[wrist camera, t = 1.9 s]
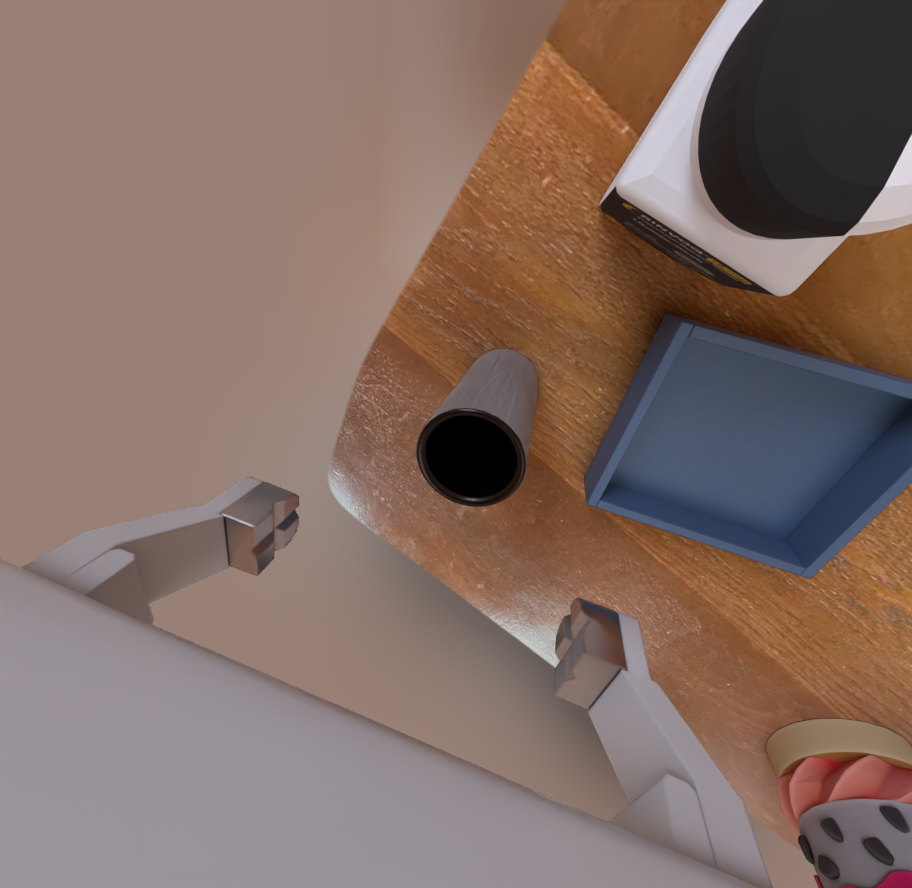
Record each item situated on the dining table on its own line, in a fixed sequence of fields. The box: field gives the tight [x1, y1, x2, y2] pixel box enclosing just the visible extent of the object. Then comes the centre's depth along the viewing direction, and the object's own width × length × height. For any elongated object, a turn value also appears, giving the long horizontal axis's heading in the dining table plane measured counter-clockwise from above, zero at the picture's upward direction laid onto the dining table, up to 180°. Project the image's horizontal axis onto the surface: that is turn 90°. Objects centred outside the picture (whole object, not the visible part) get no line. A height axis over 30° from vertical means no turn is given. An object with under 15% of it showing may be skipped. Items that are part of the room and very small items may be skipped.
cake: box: [766, 719, 912, 888], centre depth 24 cm, size 10×11×15 cm
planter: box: [416, 349, 539, 507], centre depth 19 cm, size 4×4×10 cm
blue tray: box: [584, 313, 912, 579], centre depth 21 cm, size 13×11×3 cm
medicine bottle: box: [599, 0, 912, 297], centre depth 12 cm, size 7×7×12 cm
